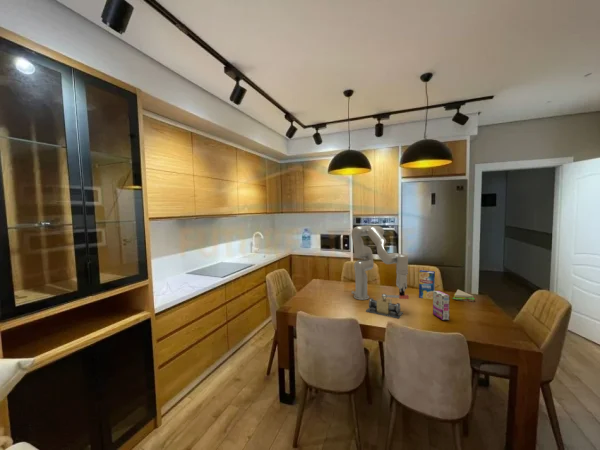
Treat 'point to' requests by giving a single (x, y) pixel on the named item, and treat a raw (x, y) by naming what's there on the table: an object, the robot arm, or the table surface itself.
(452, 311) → the table surface
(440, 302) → the candy bar box
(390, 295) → the valve lever
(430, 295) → the blue cereal box
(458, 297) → the sandwich
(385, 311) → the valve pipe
